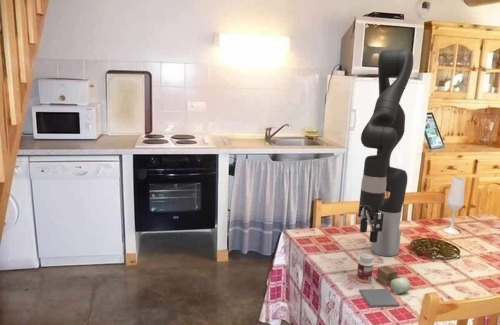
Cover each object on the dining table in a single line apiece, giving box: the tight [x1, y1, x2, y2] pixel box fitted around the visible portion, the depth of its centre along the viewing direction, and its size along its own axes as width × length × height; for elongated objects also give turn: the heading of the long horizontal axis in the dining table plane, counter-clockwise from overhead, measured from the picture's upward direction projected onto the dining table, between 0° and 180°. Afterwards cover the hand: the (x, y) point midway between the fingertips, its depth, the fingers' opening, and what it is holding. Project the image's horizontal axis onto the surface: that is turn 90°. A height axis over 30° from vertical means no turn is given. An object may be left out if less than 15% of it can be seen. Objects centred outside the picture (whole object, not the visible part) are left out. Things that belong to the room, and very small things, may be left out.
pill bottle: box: [356, 253, 374, 283], centre depth 140 cm, size 5×5×8 cm
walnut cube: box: [376, 265, 399, 287], centre depth 139 cm, size 4×4×4 cm
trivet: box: [358, 288, 400, 308], centre depth 129 cm, size 9×9×1 cm
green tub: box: [390, 276, 411, 295], centre depth 133 cm, size 4×4×4 cm
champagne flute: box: [442, 176, 466, 235], centre depth 184 cm, size 7×7×24 cm
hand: (367, 236), depth 137 cm, fingers open, 8 cm apart
